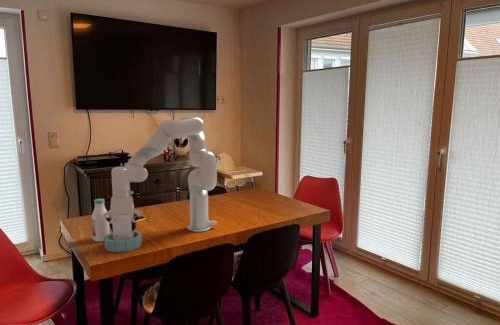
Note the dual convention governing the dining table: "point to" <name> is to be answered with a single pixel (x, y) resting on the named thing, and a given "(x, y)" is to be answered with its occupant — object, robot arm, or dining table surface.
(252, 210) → the dining table surface
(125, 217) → the small box
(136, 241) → the bowl
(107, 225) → the milk bottle
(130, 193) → the robot arm
